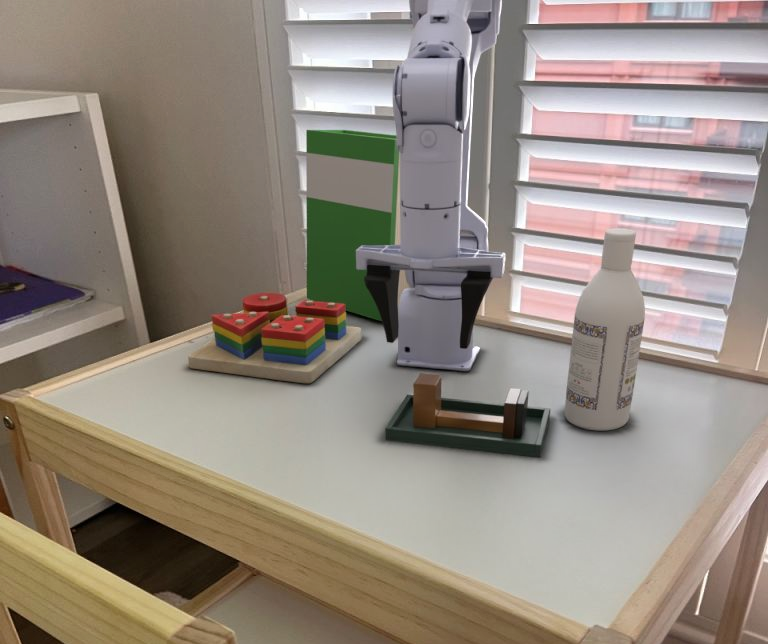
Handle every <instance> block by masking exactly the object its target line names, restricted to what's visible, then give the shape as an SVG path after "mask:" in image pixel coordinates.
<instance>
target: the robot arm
mask: <svg viewBox="0 0 768 644" xmlns="http://www.w3.org/2000/svg"><path fill="white" fill-rule="evenodd" d="M408 3H409V12H410V15H411V22H412V27H413V28H412V34H411V39H410V44H409V47H408V52H407V56H406V58H405V59H404V62H403V65H398V64H397V65H395V68H394V72H393V79H392V112H393V117H394V118H393V119H394V125H395V135H396V145H397V151H399V152H400V245H384V246H364V245H362V246H360V247H359V248H358V249H357V250H356V269H358V270H367V275H366V276H365V277H364V282H365V286H366V287H367V289H368V291H369V292H370V294H371V296H372V298H373V300H374V302H375V304H376V306H377V308H378V311H379V313H380V316H381V319H382V321H381V323H382V325H383V329H384V333H385V339H386V343H389V344H390V343H391V344H394V343H395V341H396V340H397V360H396V365H397V366H402V367H403V366H405V367H415V368H427V369H439V370H448V371H450V370H451V371H460V372H461V371H462V372H469V371H470V370H471V368H472V366H473V364H474V363H475V361H476V359H477V356H478V355H479V353H480V350H481V348H480V347H479V346H477V345H476V346H475V345H474V329H475V328H474V327H475V322H476V318H477V316H478V314H479V313H478V312H479V310H480V307H481V305H482V302H483V300H484V298H485V295H486V293H487V291H488V289H489V287H490V286H491V284H492V281H493V279H502V277H503V276H504V274H505V268H506V252H499V251H489V240H488V239H489V227H488V225H487V223H486V221H485V220H484V219H483V218H482V217H481V216H479V214H477V212H475V211H474V210H472V209H471V208H470V206H468V198H469V180H470V179H469V177H470V162H471V160H470V159H471V143H472V124H473V123H472V122H473V106H474V105H473V104H474V87H475V75H476V72H477V68H478V65H479V63H480V58H481V55H482V54H483V53H484V52H486V51H487V50H489V49H491V48H492V47H494V46H495V45H496V44H497V36H498V35H499V34H500V25H501V12H502V4H503V0H408ZM461 234H468V235H469V236H467V235H461ZM470 235H472V236H470ZM400 270H405V278H406V282H407V283H408V284H409V286H410V287H411V288H413V287H415V289H404V290H403V292H402V294H401V297H400V301H399V307H398V287H399V275H400Z"/></svg>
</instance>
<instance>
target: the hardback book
mask: <svg viewBox="0 0 768 644" xmlns="http://www.w3.org/2000/svg"><path fill="white" fill-rule="evenodd" d="M305 139H306V141H305V142H306V144H305V146H306V149H305V150H306V151H305V152H306V155H305V156H306V157H305V158H306V165H305V167H306V300H311V301H319V302H330V303H341V304H345V306H346V311H347V312H350V313H353V314H356V315H360V316H362V317H366V318H369V319H373V320H376V321H380V322H382V319H381V316H380V313H379V311H378V308H377V306H376V304H375V302H374V300H373V298H372V296H371V294H370V292H369V291H368V289H367V287H366V286H365V282H364V277H365V276H366V275H367V270H358V269H356V250H357V249H358V248H359V247H360V246H362V245H364V246H384V245H400V152H399V151H397V145H396V134H390V133H389V134H388V133H380V132H379V133H378V132H371V131H370V132H369V131H361V130H352V129H351V130H349V129H306V137H305ZM404 289H415V287H413V288H411V287H410V286H409V284H408V283H407V282H406V278H405V270H400V275H399V287H398V307H399V301H400V297H401V294H402V292H403V290H404ZM346 311H345V312H346Z"/></svg>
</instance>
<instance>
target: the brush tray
mask: <svg viewBox="0 0 768 644" xmlns="http://www.w3.org/2000/svg"><path fill="white" fill-rule="evenodd" d="M504 404H505V403H498V402H489V401H479V400H478V401H477V400H469V399H457V398H448V397H441V410H442V411H451V412H461V413H471V414H481V415H491V416H501V417H504ZM550 416H551V408H550V407H540V406H531V405H527V417H526V424H525V427H524V431H523V434H522V436H514V439H506V438H502V433H498V432H489V431H479V430H470V429H461V428H451V427H442V426H437V425H436V427H435V429H433V428H424V427H414V426H413V394H406V395H405V397H404V398H403V400H402V401H401V403H400V404H399V406H398V408H397V410H396V411H395V412H394V414H393V416H392V417H391V419H390V420H389V421H388V423H387V425H386V427H385V429H384V431H385V433H384V435H385V441H391V442H401V443H409V444H418V445H426V446H437V447H444V448H453V449H463V450H470V451H478V452H489V453H498V454H506V455H514V456H523V457H533V458H541V456H542V455H541V454H542V450H543V448H544V447H543V446H544V442H545V439H546V434H547V431H548V427H549V423H550V419H551V418H550Z"/></svg>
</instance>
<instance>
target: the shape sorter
mask: <svg viewBox="0 0 768 644" xmlns="http://www.w3.org/2000/svg"><path fill="white" fill-rule="evenodd" d="M242 309H243V310H242V311H243V312H241V313H228V312H227V313H223V314H211V322H212V323H211V328H212V331H213V334H214V339H212V340H210V341H208V342H207V343H206V344H204V345H202V346H201V347H199V348H197V349H196V350H194V351H193V352H191V353H190V354H188V356H187V359H188V368H190V369H195V370H201V371H207V372H208V371H210V372H218V373H225V374H232V375H239V376H245V377H253V378H261V379H268V380H277V381H282V382H283V381H284V382H290V383H291V382H292V383H299V384H312V383H313V382H314V381H316V380H317V379H318V378H319V377H320V376H321V375H323V374H324V373H325V372H326V371H327V370H328V369H329V368H331V367H332V366H333V365H334V364H335V363H336V362H338V361H339V360H340V359H341V358H342V357H343V356H344V355H346V354H347V353H348V352H349V351H351V349H352V348H354V347H355V346H356V345H357V344H358V343H359V342H361V341H362V336H363V335H362V328H361V327H359V326H350V325H347V312H346V306H345V304H341V303H330V302H319V301H313V300H310V299H304V300H303V301H301V302H299V303H298V304H296V305H295V310H294V311H295V313H296V314H295V315H291V314H290V315H289V311H288V299H287V296H286V295H284V294H283V293H282V294H281V293H279V292H278V293H277V292H258V293H252V294H249V295H247V296H245V297H243V299H242Z"/></svg>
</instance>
